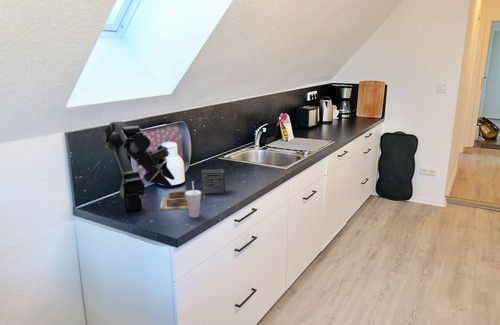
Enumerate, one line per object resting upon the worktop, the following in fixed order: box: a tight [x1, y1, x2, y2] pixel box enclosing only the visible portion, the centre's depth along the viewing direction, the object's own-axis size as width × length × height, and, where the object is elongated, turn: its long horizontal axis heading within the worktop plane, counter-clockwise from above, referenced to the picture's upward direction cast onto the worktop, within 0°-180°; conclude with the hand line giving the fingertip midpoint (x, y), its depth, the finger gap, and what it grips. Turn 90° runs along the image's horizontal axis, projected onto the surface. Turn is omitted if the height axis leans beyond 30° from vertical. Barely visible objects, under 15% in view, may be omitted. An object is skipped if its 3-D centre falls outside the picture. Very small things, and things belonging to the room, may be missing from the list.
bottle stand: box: [159, 190, 188, 211], centre depth 175 cm, size 16×14×4 cm
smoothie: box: [185, 180, 202, 218], centre depth 160 cm, size 6×6×14 cm
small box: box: [200, 168, 226, 196], centre depth 187 cm, size 11×6×10 cm, turn 92°
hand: (172, 182), depth 158 cm, fingers open, 9 cm apart
